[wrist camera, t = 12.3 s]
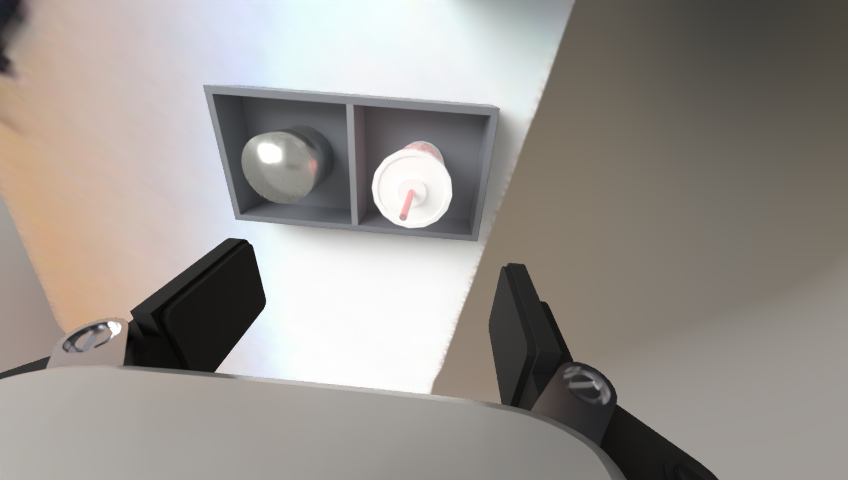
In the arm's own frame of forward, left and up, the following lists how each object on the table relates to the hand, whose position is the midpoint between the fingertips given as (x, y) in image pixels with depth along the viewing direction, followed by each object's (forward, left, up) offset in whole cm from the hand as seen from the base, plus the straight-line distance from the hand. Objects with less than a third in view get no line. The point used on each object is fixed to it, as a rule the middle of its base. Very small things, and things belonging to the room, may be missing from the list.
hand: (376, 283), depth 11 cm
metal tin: (+1, -12, -21) cm, 25 cm away
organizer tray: (+1, -6, -22) cm, 23 cm away
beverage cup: (0, 0, -22) cm, 22 cm away
